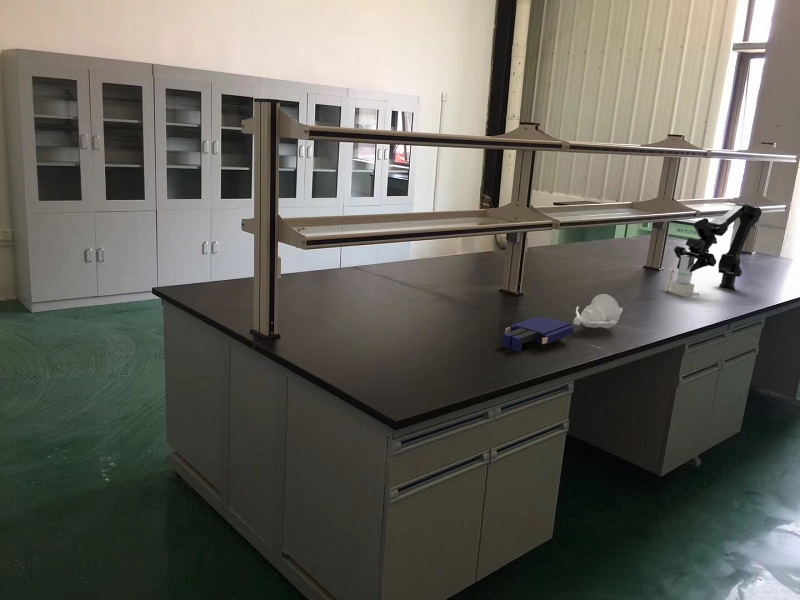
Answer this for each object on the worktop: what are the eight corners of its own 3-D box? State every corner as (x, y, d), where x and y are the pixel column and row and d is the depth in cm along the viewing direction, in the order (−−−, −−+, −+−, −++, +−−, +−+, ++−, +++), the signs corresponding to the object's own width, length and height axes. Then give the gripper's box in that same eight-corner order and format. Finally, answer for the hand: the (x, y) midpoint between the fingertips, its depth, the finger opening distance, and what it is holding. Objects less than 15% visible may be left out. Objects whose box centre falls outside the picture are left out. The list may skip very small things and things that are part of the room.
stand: (678, 288, 302) (682, 267, 299) (699, 294, 293) (703, 272, 290) (663, 290, 296) (667, 268, 294) (684, 296, 288) (688, 274, 285)
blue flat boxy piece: (491, 329, 209) (539, 313, 225) (491, 347, 211) (538, 330, 227) (530, 340, 198) (577, 322, 214) (530, 359, 200) (576, 340, 216)
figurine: (642, 299, 229) (599, 309, 213) (635, 331, 233) (592, 343, 217) (602, 285, 241) (558, 294, 226) (595, 316, 245) (552, 327, 229)
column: (681, 282, 296) (687, 254, 293) (690, 284, 293) (695, 256, 289) (675, 283, 294) (680, 255, 291) (684, 285, 291) (689, 257, 287)
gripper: (679, 228, 297) (659, 253, 294) (717, 235, 282) (696, 262, 279) (687, 244, 303) (668, 269, 300) (725, 253, 288) (704, 279, 285)
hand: (683, 269), depth 291 cm, fingers open, 6 cm apart
